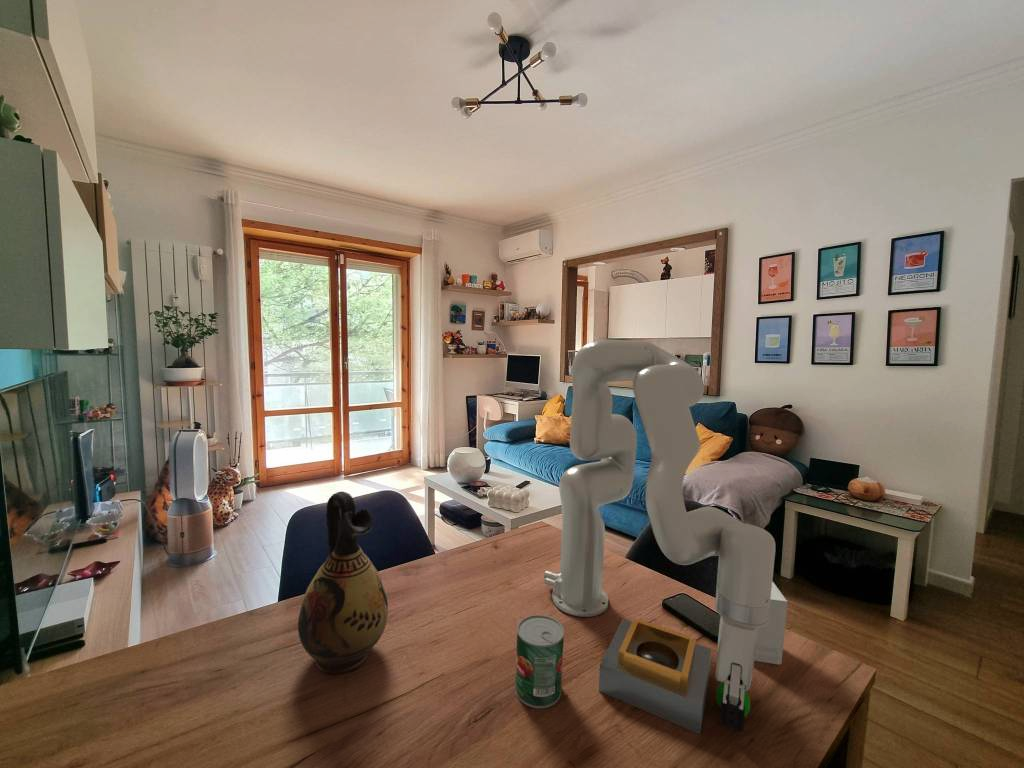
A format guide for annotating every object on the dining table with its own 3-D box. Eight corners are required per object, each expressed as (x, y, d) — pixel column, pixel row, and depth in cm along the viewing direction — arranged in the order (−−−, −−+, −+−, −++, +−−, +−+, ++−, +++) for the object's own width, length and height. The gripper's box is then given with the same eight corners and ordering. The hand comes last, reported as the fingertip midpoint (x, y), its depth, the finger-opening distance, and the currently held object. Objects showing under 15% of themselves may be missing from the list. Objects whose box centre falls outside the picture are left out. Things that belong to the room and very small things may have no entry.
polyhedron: (716, 695, 75) (719, 669, 75) (749, 708, 73) (752, 682, 72) (713, 717, 71) (715, 689, 70) (748, 731, 68) (750, 703, 68)
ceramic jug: (404, 654, 82) (405, 499, 79) (322, 703, 71) (318, 524, 68) (359, 613, 94) (358, 476, 91) (282, 650, 83) (277, 495, 79)
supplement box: (782, 666, 82) (789, 602, 81) (739, 659, 84) (745, 596, 82) (768, 639, 90) (774, 580, 88) (728, 633, 91) (733, 575, 90)
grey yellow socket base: (598, 691, 75) (600, 652, 74) (625, 634, 90) (627, 601, 89) (700, 734, 68) (703, 692, 67) (711, 664, 82) (713, 629, 82)
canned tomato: (505, 685, 76) (507, 625, 75) (540, 665, 81) (542, 608, 80) (535, 717, 70) (538, 652, 69) (571, 694, 74) (574, 633, 73)
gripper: (719, 572, 79) (712, 661, 81) (710, 626, 64) (701, 734, 66) (768, 585, 75) (759, 678, 77) (770, 645, 60) (759, 759, 62)
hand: (732, 704), depth 72 cm, fingers open, 9 cm apart
